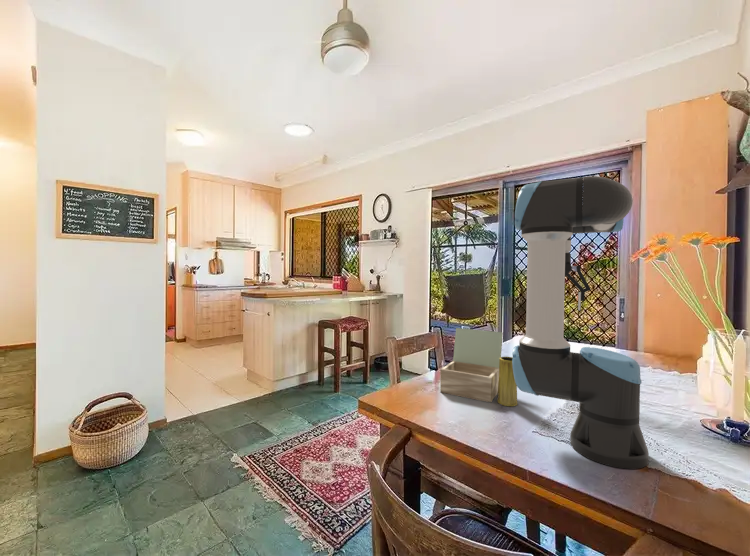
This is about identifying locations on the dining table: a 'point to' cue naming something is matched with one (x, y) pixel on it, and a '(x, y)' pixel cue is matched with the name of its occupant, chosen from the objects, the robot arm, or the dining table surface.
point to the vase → (506, 383)
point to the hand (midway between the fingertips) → (558, 309)
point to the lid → (478, 347)
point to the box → (470, 380)
